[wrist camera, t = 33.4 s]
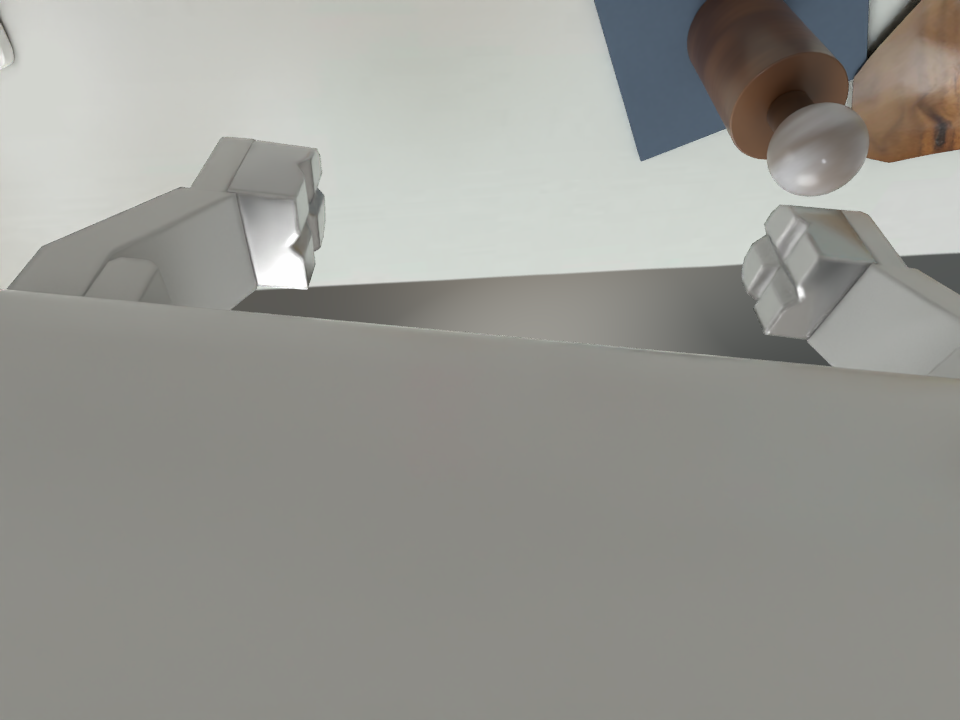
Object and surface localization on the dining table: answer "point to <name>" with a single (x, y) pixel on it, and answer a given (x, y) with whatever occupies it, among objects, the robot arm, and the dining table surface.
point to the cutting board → (913, 86)
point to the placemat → (672, 77)
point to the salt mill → (778, 93)
